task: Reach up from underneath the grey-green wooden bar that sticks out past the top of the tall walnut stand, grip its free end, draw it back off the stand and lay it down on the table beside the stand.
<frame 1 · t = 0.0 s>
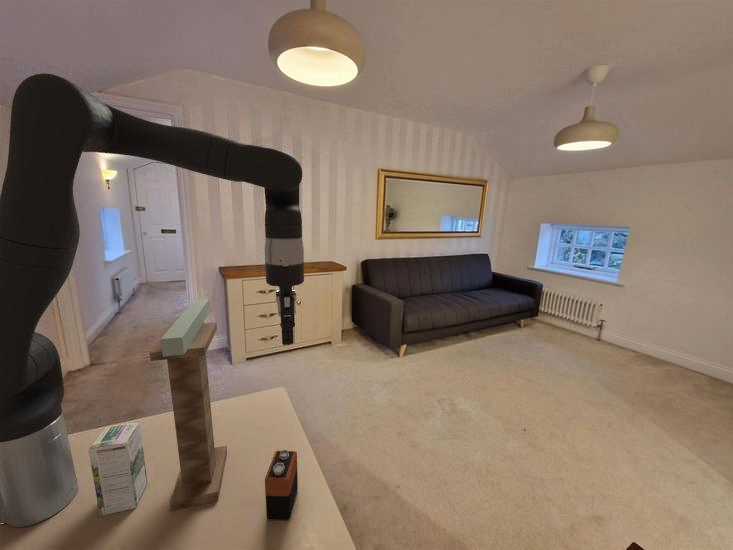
hand: (286, 335, 64), 29 cm above the table, tool pointing down, fingers open, 8 cm apart
syrup box: (126, 499, 58), on the table
battery: (283, 504, 58), on the table
stand: (202, 478, 63), on the table
peg: (191, 329, 59), point 32 cm above the table, touching stand
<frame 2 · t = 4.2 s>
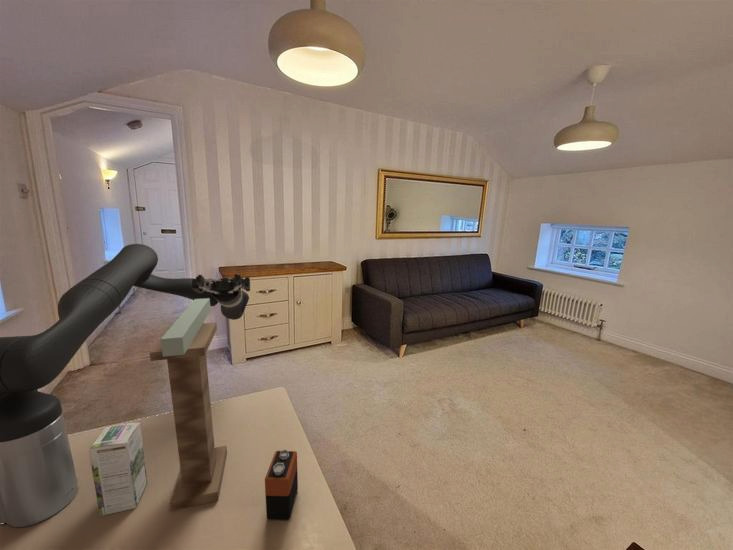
hand: (218, 277, 77), 38 cm above the table, tool pointing upward, fingers open, 8 cm apart
nothing on the table moved.
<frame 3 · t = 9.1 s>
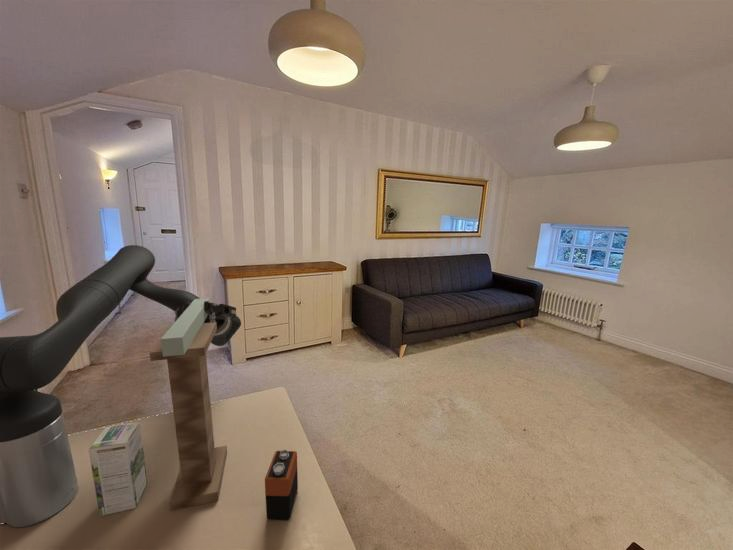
hand: (196, 306, 63), 35 cm above the table, tool pointing upward, fingers closed on peg, 3 cm apart
peg: (191, 329, 59), point 32 cm above the table, touching gripper, stand
everything else where it was.
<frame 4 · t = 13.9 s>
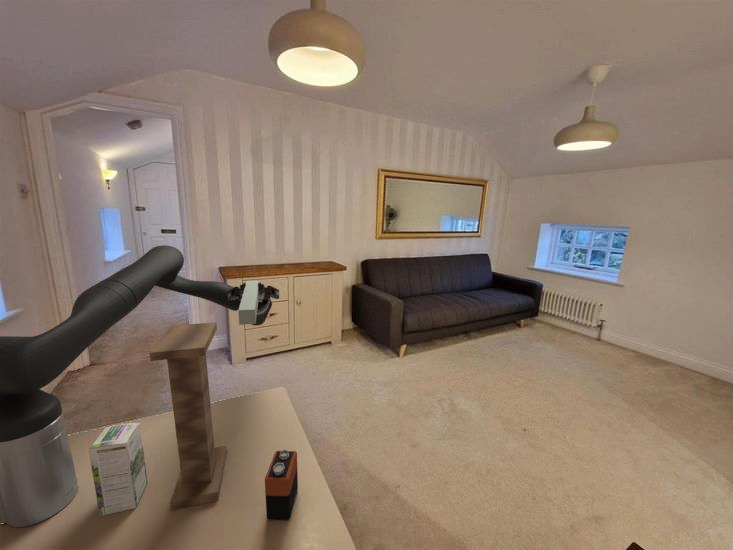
hand: (251, 286, 74), 37 cm above the table, tool pointing upward, fingers closed on peg, 3 cm apart
peg: (250, 305, 69), point 33 cm above the table, touching gripper
everything else where it was.
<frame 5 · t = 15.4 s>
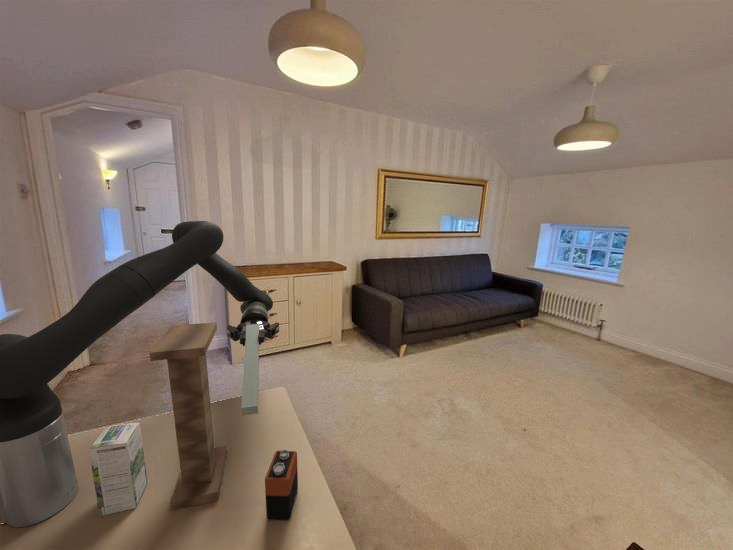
hand: (252, 341, 72), 24 cm above the table, tool horizontal, fingers closed on peg, 3 cm apart
peg: (251, 368, 70), point 19 cm above the table, tilted 27°, touching gripper
everything else where it was.
when the fingers open (12 cm above the table, at t = 18.9 s): peg drops 7 cm, on the table.
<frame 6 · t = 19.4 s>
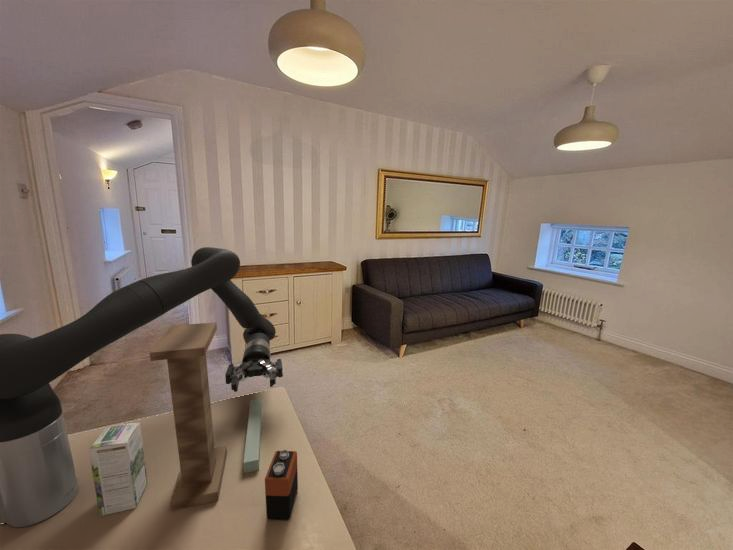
hand: (253, 386, 74), 13 cm above the table, tool horizontal, fingers open, 8 cm apart
peg: (254, 436, 75), on the table
everything else where it was.
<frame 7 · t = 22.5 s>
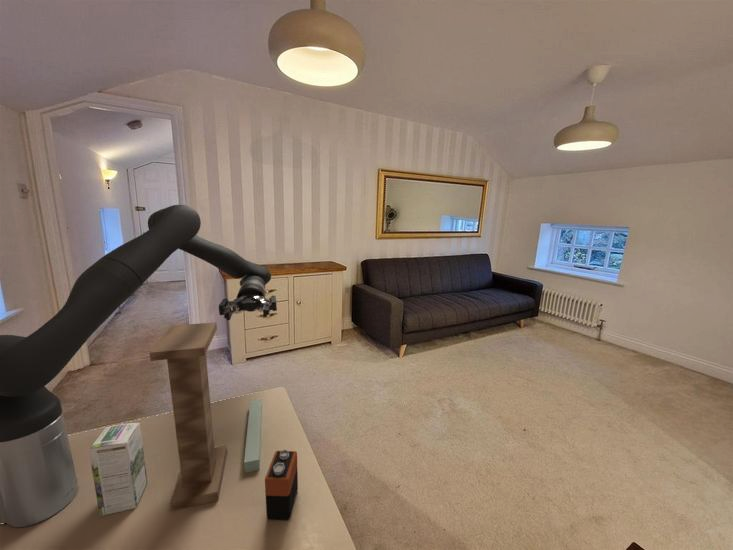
hand: (246, 315, 74), 29 cm above the table, tool horizontal, fingers open, 8 cm apart
nothing on the table moved.
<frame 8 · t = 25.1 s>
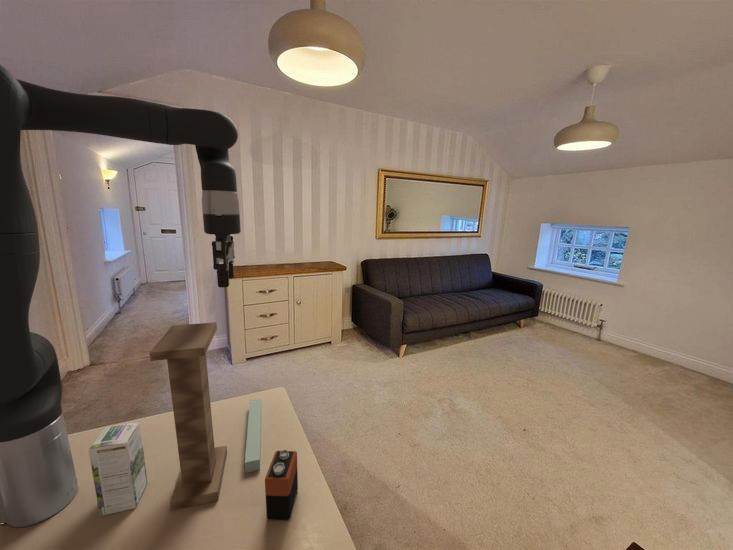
hand: (226, 282, 71), 38 cm above the table, tool pointing down, fingers open, 8 cm apart
nothing on the table moved.
at the end: peg inside the target area (3.2 cm from its centre), on the table; peg touching table; the gripper is holding nothing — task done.
